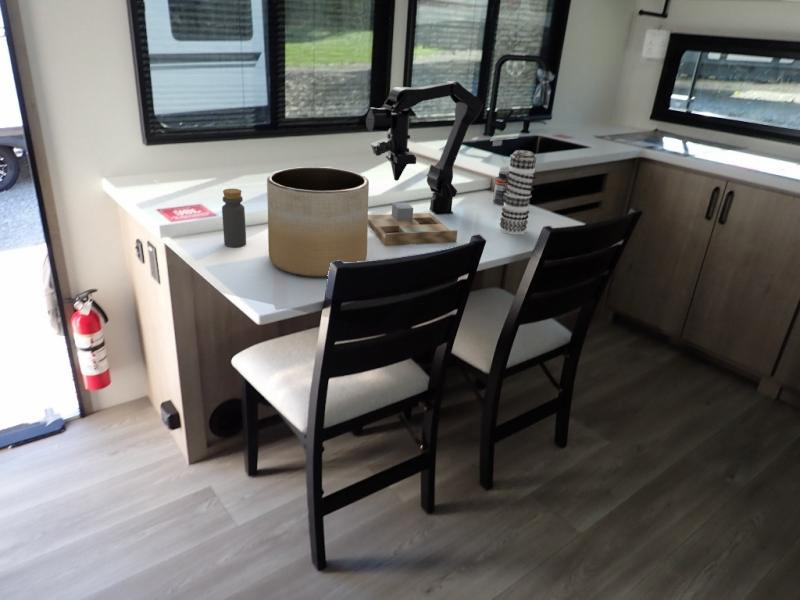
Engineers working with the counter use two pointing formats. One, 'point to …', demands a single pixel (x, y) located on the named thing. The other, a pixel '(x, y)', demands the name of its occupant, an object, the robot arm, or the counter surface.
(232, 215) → the bottle
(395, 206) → the block
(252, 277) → the counter surface
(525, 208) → the decorative candle
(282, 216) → the planter
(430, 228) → the wooden compartment tray
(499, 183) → the supplement bottle
